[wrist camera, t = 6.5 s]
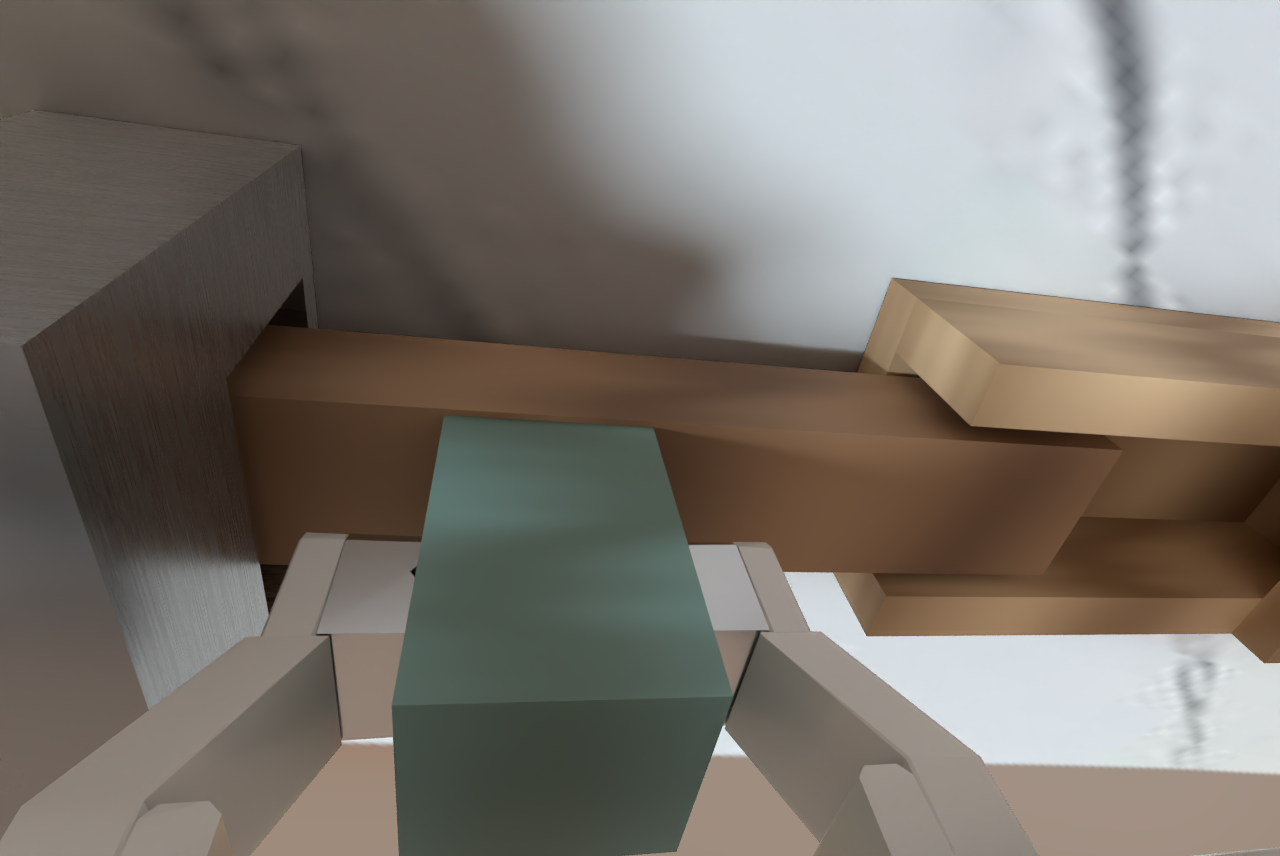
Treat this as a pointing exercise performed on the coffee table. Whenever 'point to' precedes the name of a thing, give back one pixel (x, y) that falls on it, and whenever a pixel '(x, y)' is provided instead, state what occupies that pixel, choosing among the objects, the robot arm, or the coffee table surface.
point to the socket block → (128, 417)
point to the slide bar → (609, 547)
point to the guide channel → (1139, 480)
